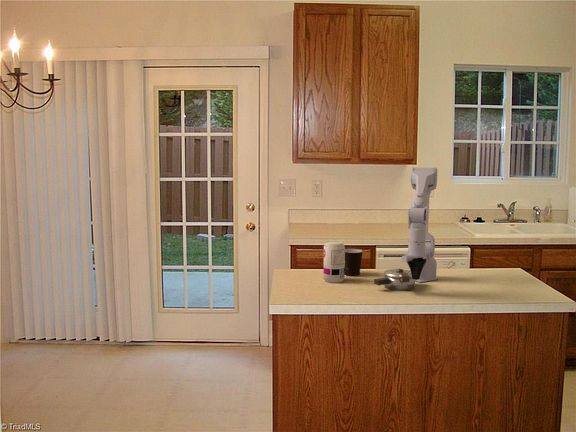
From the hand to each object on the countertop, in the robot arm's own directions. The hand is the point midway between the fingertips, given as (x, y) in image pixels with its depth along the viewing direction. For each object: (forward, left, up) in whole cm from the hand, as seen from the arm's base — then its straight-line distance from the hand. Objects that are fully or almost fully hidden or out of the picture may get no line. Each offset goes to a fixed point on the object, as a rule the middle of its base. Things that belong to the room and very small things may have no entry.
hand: (415, 279), depth 188 cm
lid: (0, -7, -1) cm, 7 cm away
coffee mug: (+2, -35, -5) cm, 36 cm away
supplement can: (+15, -29, -5) cm, 34 cm away
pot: (+1, -9, -5) cm, 11 cm away
